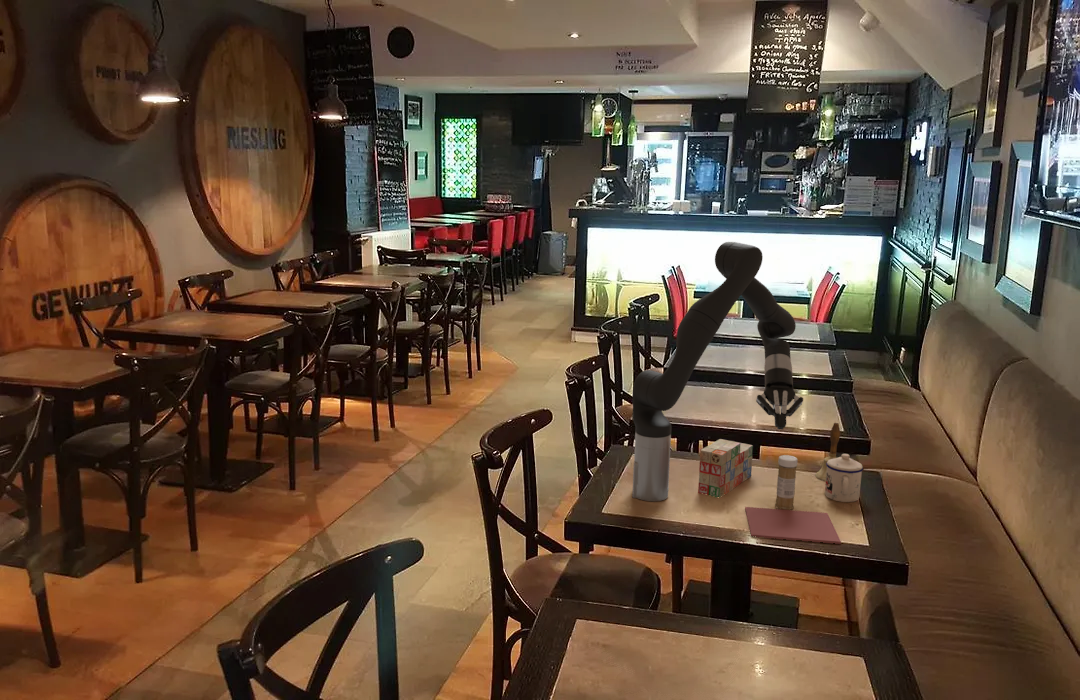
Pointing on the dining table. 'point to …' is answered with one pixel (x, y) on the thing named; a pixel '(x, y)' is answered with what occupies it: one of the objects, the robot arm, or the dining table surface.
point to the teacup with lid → (843, 479)
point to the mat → (791, 525)
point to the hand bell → (834, 440)
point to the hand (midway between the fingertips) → (780, 427)
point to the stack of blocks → (724, 467)
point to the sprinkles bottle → (786, 482)
